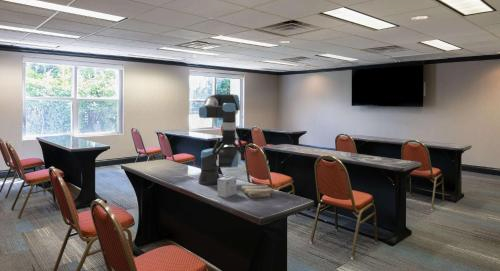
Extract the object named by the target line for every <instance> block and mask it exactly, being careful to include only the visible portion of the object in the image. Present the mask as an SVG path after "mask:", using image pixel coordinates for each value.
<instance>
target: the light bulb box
mask: <svg viewBox="0 0 500 271" xmlns="http://www.w3.org/2000/svg"><path fill="white" fill-rule="evenodd" d="M236 194H237V176H234V175H225V176H223V177H220V178H218V184H217V196H218V197H220V198H228V197H232V196H235V195H236Z"/></svg>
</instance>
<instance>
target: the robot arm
mask: <svg viewBox="0 0 500 271" xmlns="http://www.w3.org/2000/svg"><path fill="white" fill-rule="evenodd" d="M240 105H241V104H240V98H239V95H238V94H233V93H232V94H231V93H230V94H228V93H227V94H224V93H221V94H220V93H216V94H211V95H210V96H208V97H206V99H204V105H200V106H199V107H198V116H199V117H198V118H203V119H222V137H217V138H216V143H215V144H214V147H213V148H207V149H203V150H202V151H201V152H200V174H199V177H198V182H197V183H198V184H200V185H206V186H211V185H218V178H221V177H220V173H219V169H220V168H228V169H229V168H230V169H233V168H238V167H239V165H242V160H243V154H244V153H246V150H245V147H244V145H243V143H242V141H241V140H242V139H241V137H240V136H236V135H237V133H236V132H237V124H236V123H237V119H236V118H237V117H236V116H237V114H239V111H240V110H241V106H240ZM236 141H237V142H236ZM220 142H222V143H221V144H220ZM237 143H238V144H239V146H238V145H237Z"/></svg>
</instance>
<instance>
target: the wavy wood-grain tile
mask: <svg viewBox="0 0 500 271" xmlns="http://www.w3.org/2000/svg"><path fill="white" fill-rule="evenodd" d="M240 188H241V190H243V191H244V193H245V194H246V195H247V196H248V197H249V198H250V199H253V198H255V199H257V198H267V197H271V193H275V189H273V188H272V187H270V186H268V184H266V183H261V184H260V183H259V184H247V185H240Z"/></svg>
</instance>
